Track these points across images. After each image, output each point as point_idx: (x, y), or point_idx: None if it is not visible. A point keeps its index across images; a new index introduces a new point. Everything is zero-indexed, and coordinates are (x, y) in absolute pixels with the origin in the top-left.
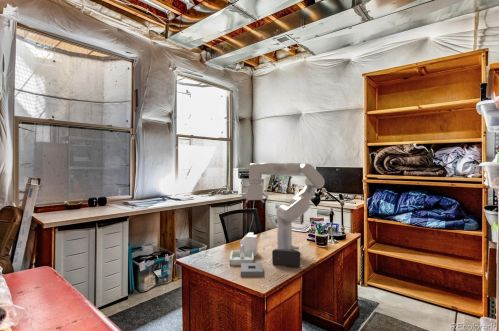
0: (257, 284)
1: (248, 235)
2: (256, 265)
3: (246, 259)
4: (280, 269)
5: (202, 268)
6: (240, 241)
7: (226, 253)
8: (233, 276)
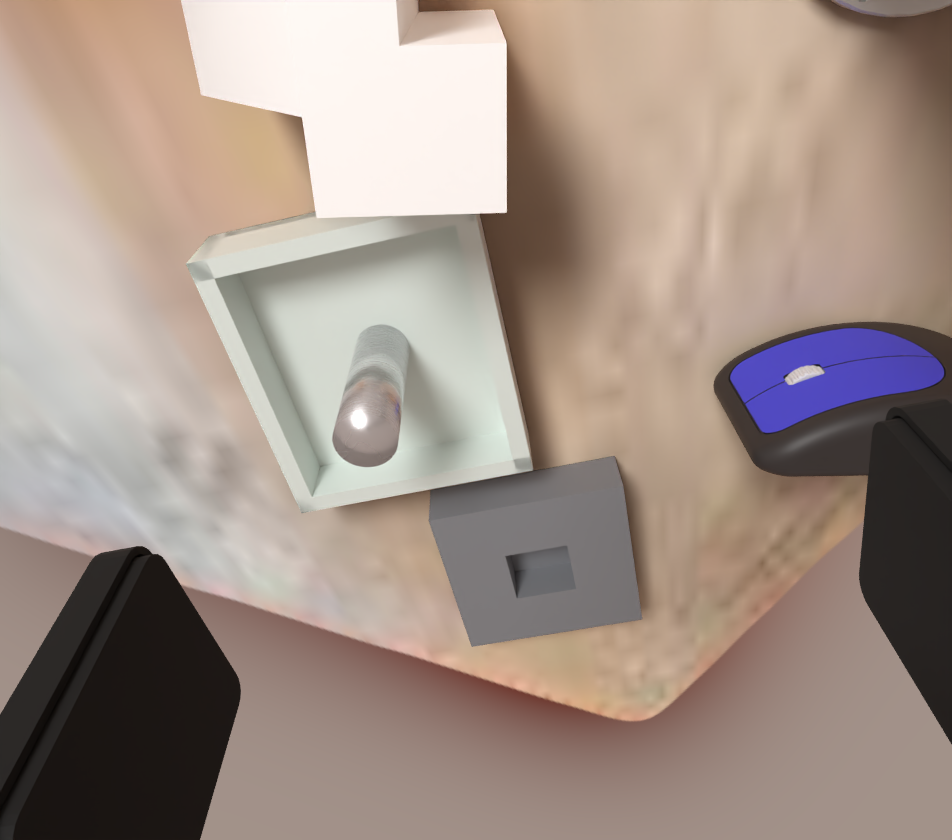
0: (603, 667)
1: (340, 122)
2: (575, 539)
3: (461, 478)
4: None
5: None
6: (210, 96)
7: (89, 143)
8: (418, 613)
